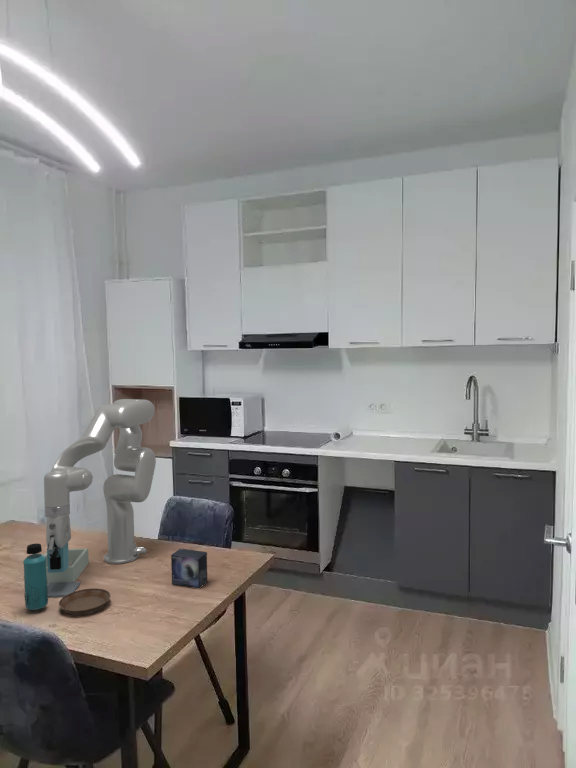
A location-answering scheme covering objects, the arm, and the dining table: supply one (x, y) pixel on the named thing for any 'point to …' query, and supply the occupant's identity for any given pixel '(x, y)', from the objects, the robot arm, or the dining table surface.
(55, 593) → the mat
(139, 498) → the robot arm
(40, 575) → the beverage bottle
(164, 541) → the dining table surface
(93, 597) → the saucer
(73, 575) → the frame
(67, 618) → the dining table surface
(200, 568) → the small box
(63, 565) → the block
